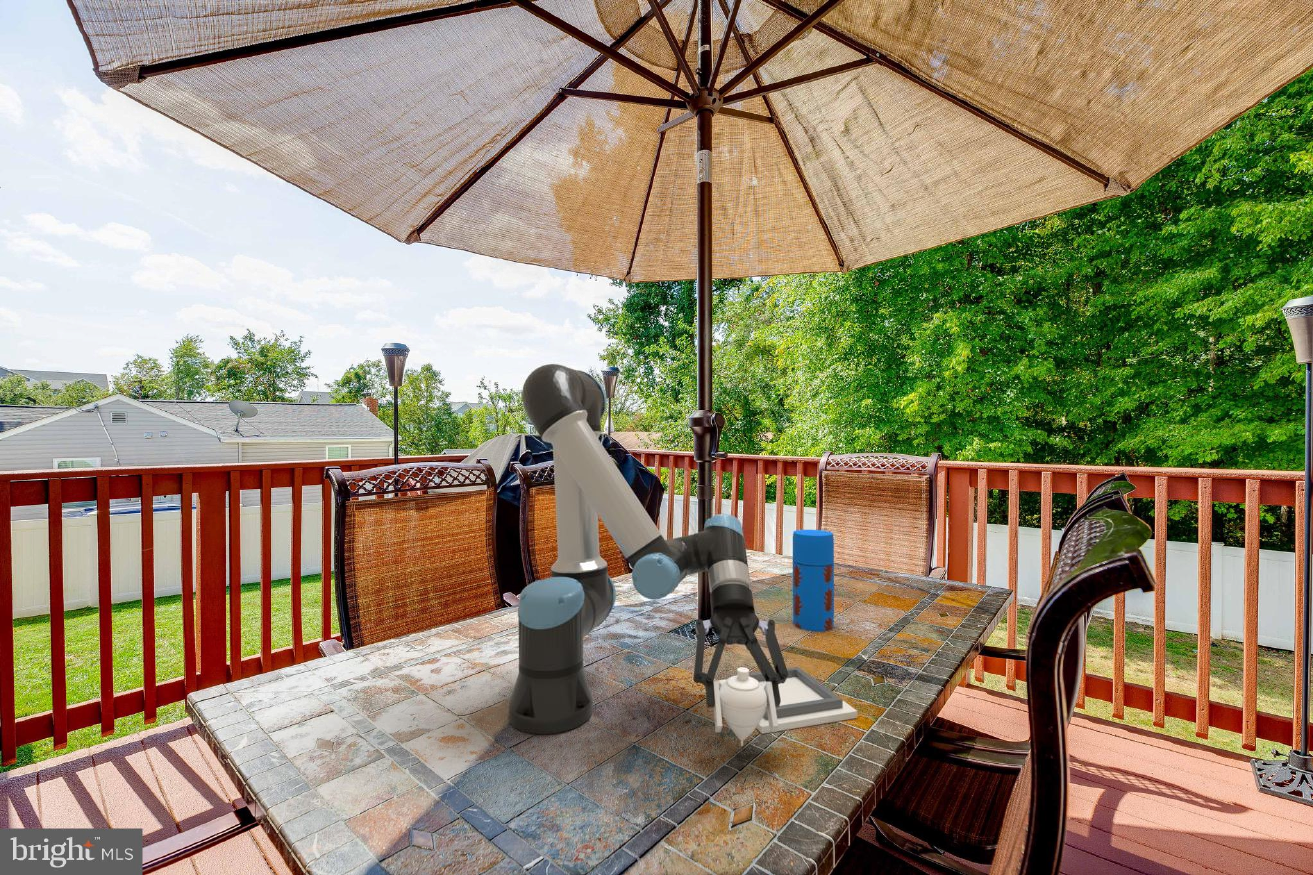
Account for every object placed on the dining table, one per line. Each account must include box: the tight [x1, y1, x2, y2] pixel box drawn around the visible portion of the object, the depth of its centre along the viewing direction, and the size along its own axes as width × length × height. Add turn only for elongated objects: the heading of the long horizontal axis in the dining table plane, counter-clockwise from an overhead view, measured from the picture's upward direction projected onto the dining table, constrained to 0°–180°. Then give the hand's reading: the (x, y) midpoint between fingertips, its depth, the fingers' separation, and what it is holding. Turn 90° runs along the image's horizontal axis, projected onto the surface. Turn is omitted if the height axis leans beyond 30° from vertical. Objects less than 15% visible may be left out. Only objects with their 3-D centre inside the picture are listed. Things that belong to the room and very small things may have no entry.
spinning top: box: [719, 666, 768, 747], centre depth 86 cm, size 8×8×12 cm
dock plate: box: [717, 666, 858, 735], centre depth 105 cm, size 19×19×3 cm
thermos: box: [792, 529, 835, 633], centre depth 149 cm, size 11×11×25 cm
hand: (746, 728), depth 83 cm, fingers closed on spinning top, 8 cm apart
